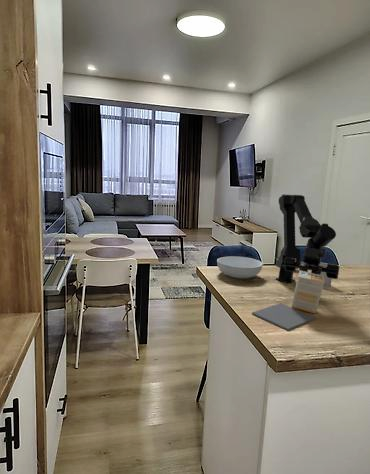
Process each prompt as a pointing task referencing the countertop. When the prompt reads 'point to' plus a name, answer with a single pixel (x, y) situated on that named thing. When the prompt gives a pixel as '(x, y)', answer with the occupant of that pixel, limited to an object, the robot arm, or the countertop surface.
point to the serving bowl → (239, 266)
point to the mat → (284, 316)
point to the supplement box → (308, 291)
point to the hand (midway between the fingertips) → (306, 287)
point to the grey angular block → (326, 280)
